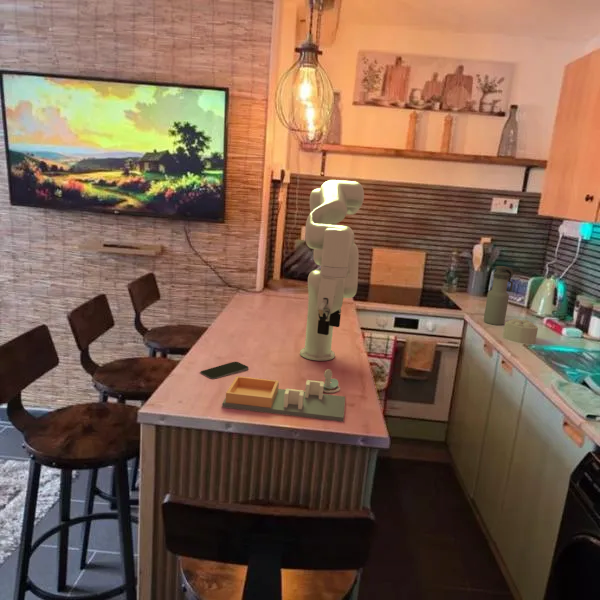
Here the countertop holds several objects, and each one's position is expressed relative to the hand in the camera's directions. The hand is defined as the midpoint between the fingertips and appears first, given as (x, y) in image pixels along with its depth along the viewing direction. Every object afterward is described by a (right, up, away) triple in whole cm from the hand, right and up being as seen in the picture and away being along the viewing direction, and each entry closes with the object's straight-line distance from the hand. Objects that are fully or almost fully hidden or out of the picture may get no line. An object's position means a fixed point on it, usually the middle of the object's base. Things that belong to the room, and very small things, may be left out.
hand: (328, 330), depth 151 cm
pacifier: (+1, -19, +9) cm, 21 cm away
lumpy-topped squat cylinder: (+89, -9, +79) cm, 119 cm away
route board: (-12, -21, -4) cm, 24 cm away
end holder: (-22, -18, -3) cm, 29 cm away
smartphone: (-33, -15, +17) cm, 39 cm away
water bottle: (+87, -3, +106) cm, 137 cm away
